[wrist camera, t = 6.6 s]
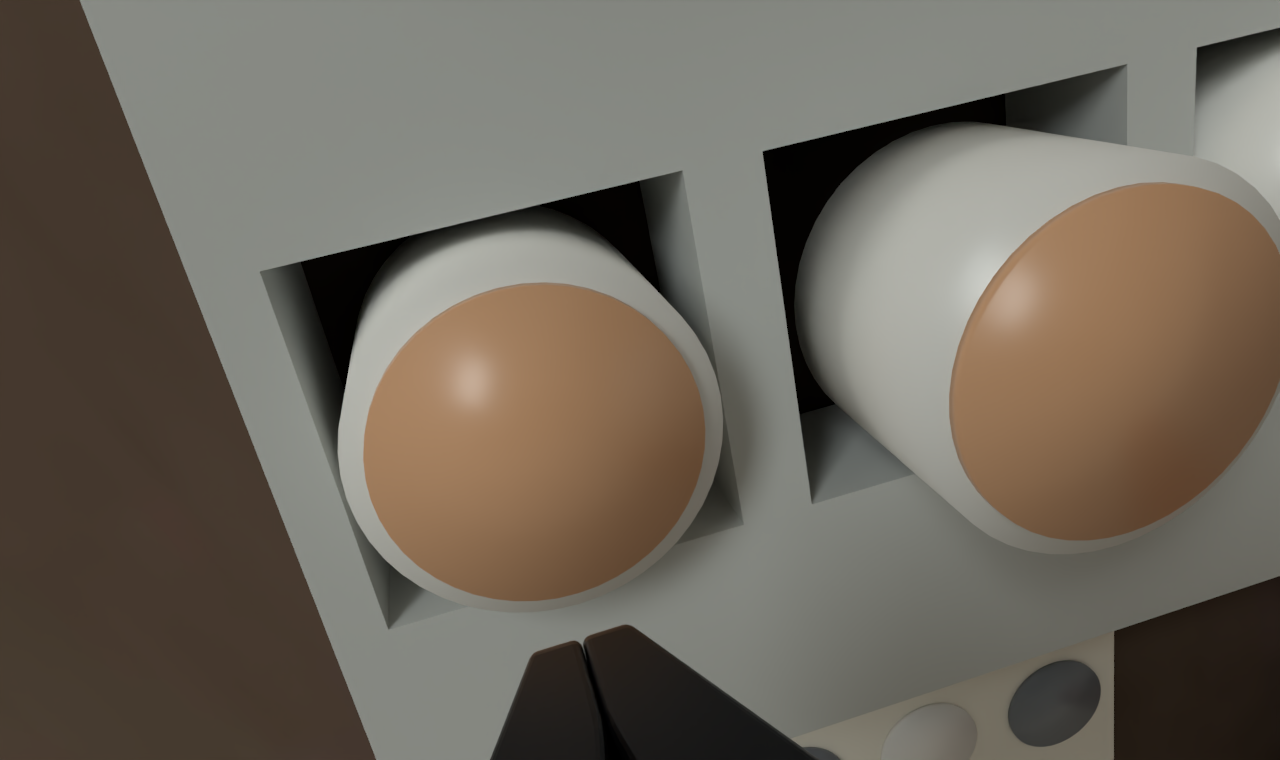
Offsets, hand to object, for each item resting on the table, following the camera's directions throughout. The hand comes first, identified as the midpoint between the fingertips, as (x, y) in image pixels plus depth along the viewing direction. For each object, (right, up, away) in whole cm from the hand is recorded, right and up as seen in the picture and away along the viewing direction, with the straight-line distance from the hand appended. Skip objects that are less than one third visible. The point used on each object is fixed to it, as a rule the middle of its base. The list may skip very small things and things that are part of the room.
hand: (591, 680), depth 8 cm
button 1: (-2, +3, +7) cm, 8 cm away
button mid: (+5, +4, +6) cm, 9 cm away
